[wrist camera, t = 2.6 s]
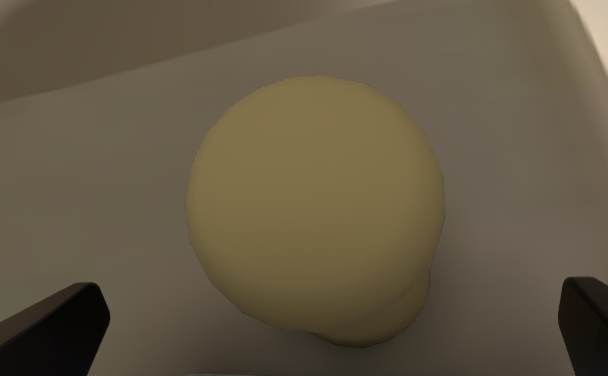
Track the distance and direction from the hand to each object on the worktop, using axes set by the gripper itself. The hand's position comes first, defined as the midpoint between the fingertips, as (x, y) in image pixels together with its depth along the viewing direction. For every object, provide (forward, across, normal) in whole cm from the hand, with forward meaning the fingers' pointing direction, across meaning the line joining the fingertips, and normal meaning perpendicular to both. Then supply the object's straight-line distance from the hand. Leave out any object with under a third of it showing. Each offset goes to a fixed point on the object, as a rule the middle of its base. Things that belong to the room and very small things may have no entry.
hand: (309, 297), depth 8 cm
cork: (+8, 0, +5) cm, 10 cm away
